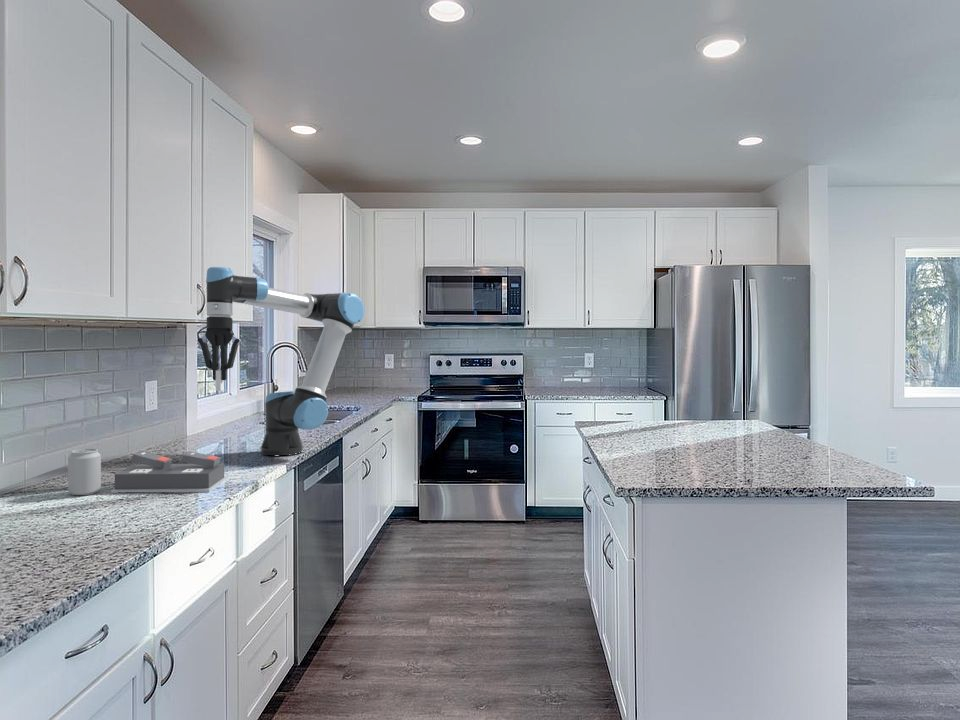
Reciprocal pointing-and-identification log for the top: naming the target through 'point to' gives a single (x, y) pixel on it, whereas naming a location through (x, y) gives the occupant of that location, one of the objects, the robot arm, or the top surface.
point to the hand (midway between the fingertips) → (219, 390)
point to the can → (84, 472)
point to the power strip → (169, 478)
